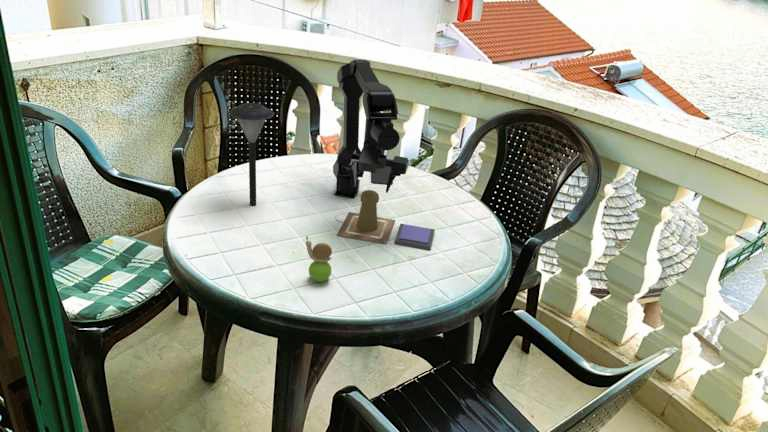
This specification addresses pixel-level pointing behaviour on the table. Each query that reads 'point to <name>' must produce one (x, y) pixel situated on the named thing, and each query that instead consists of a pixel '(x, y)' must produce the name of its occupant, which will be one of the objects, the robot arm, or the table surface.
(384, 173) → the phone
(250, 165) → the solar garden light
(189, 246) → the table surface
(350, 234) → the marked board
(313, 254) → the snail figurine
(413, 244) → the ink pad
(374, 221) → the cork
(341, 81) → the robot arm
